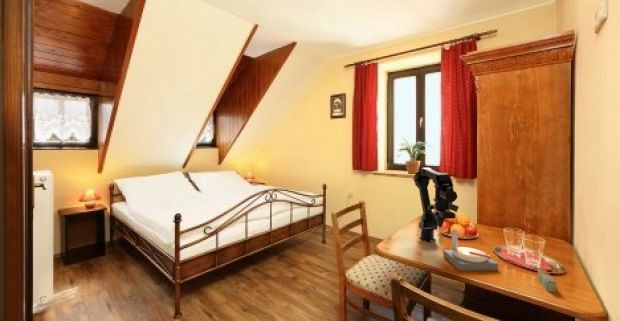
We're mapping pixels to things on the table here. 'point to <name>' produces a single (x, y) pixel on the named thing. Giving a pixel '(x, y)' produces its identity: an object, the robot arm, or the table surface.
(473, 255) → the dial
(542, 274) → the medication box
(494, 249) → the table surface
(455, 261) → the level stand
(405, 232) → the table surface
